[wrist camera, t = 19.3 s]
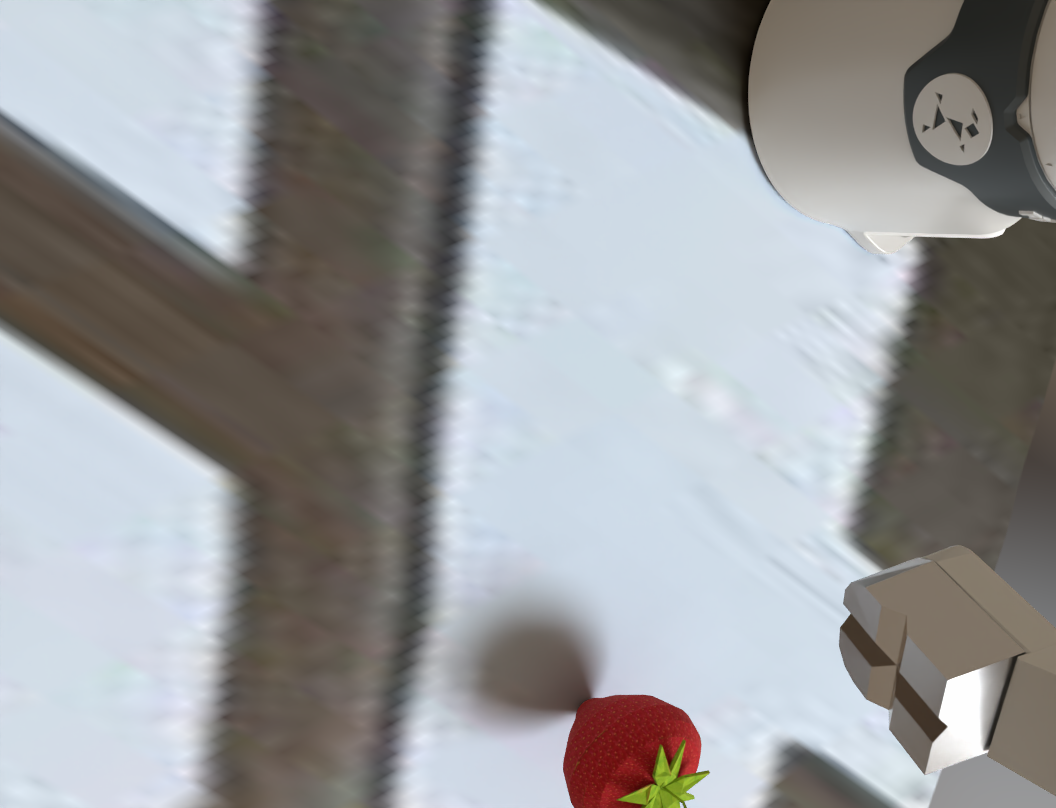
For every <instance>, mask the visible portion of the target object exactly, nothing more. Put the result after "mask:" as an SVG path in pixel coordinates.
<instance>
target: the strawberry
mask: <svg viewBox="0 0 1056 808" xmlns="http://www.w3.org/2000/svg"><path fill="white" fill-rule="evenodd" d="M700 753H701V739H700V736H699V734H698V732H697V730H696V728H695V726H694V725H693V723H692V721H691V719H690V718H689V716H688V715H687V714H686V713H685V712H684V711H683V710H681V709H679V708H677V707H675V706H673V705H671V704H669V703H666V702H664V701H662V700H660V699H658V698H656V697H653V696H648V695H614V696H609V697H605V698H592V699H589V700H586V701H585V702H583V703H582V704H581V705H580V707H579V708H578V710H577V713H576V719H575V721H574V724H573V726H572V728H571V731H570V734H569V737H568V742H567V747H566V752H565V757H564V762H563V772H564V776H565V780H566V784H567V788H568V792H569V796H570V800H571V803H572V805H573V806H574V808H680V803H679V802H681V803H683V806H684V808H687V807H686V805H685V802H684V801H687V800H691V799H694V796H693V795H691V794H689V793H687V792H686V791H688V790H689V789H690V788H691V787H693V786H694V785H695V784H697V783H698V782H699V781H700V780H702V779H703V778H704V777H706V776H707V775H708V774H709V773H710V772H709V771H703V772H698V773H696V771H697V768H698V764H699V759H700Z"/></svg>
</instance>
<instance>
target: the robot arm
mask: <svg viewBox="0 0 1056 808" xmlns="http://www.w3.org/2000/svg"><path fill="white" fill-rule="evenodd" d="M748 105H749V117H750V125H751V131H752V136H753V140H754V144H755V147H756V150H757V154H758V156H759V159H760V162H761V164H762V166H763V168H764V170H765V173H766V174H767V176H768V178H769V180H770V181H771V183H772V184H773V186H774V187H775V189H776V190H777V191H778V193H779V194H780V195H781V196H782V197H783V198H784V200H785V201H786V202H788V203H789V204H790V205H791V206H792V207H793V208H795V209H796V210H797V211H799V212H800V213H802V214H803V215H805V216H807V217H809V218H811V219H813V220H816V221H819V222H823V223H826V224H830V225H834V226H837V227H840V228H842V229H844V230H846V231H847V232H848V233H849V234H850V235H851V236H852V237H853V238H854V239H855V240H856V242H857V243H858V244H859V245H860V246H862V247H863V248H864V249H865V250H866V251H868V252H870V253H872V254H892V253H895V252H896V251H898V250H899V249H900V248H902V247H903V246H904V245H905V244H907V243H908V242H909V241H910V240H911V239H913V238H914V237H915V236H924V237H957V238H991V237H996V236H999V235H1002V234H1003V233H1004V231H1005V229H1006V228H1008V227H1010V226H1011V225H1013V224H1014V223H1016V222H1017V221H1018V220H1020V219H1021V218H1022V217H1023V218H1029V219H1034V220H1037V221H1043V222H1056V0H771V1H770V3H769V5H768V7H767V9H766V12H765V14H764V16H763V19H762V21H761V24H760V27H759V30H758V33H757V36H756V40H755V44H754V48H753V53H752V58H751V64H750V72H749V84H748ZM843 604H844V605H845V606H846V608H847V609H848V610H849V611H850V613H851V614H850V616H849V617H848V618H847V619H846V621H845V622H844V623H843V625H842V626H841V627H840V639H839V647H840V651H841V654H842V658H843V661H844V665H845V667H846V669H847V671H848V673H849V675H850V676H851V678H852V680H853V682H854V683H855V685H856V686H857V688H858V689H859V690H860V692H861V693H862V694H863V696H864V697H865V698H866V699H867V700H869V701H871V702H873V703H875V704H877V705H879V706H881V707H884V708H886V709H888V710H889V730H890V731H891V732H892V734H893V735H894V736H895V737H896V739H897V740H898V741H899V743H900V744H901V745H902V746H903V748H904V749H905V750H906V752H907V753H908V754H909V755H910V757H911V758H912V759H913V761H914V762H915V763H916V764H917V766H918V767H919V768H920V770H921V771H922V772H923V773H924V775H927V774H929V773H932V772H935V771H937V770H940V769H943V768H945V767H948V766H951V765H954V764H956V763H959V762H962V761H964V760H967V759H970V758H972V757H975V756H978V755H980V754H983V753H986V752H988V755H987V756H988V757H989V758H991V759H993V760H995V761H996V762H998V763H1000V764H1001V765H1003V766H1005V767H1007V768H1008V769H1010V770H1012V771H1014V772H1015V773H1017V774H1019V775H1020V776H1022V777H1024V778H1026V779H1027V780H1029V781H1031V782H1032V783H1034V784H1036V785H1038V786H1039V787H1041V788H1043V789H1044V790H1046V791H1048V792H1050V793H1051V794H1053V795H1055V796H1056V628H1055V627H1054V626H1053V625H1052V624H1050V623H1049V622H1048V621H1047V620H1046V619H1045V618H1044V617H1043V616H1042V615H1041V614H1040V613H1039V612H1037V611H1036V610H1035V609H1034V608H1033V607H1032V606H1031V605H1030V604H1029V603H1028V602H1027V601H1026V600H1024V599H1023V598H1022V597H1021V596H1020V595H1019V594H1018V593H1017V592H1016V591H1015V590H1014V589H1012V588H1011V587H1010V586H1009V585H1008V584H1007V583H1006V582H1005V581H1004V580H1003V579H1002V578H1001V577H1000V576H998V575H997V574H996V573H995V572H994V571H993V570H992V569H991V568H990V567H989V566H988V565H987V564H985V563H984V562H983V561H982V560H981V559H980V558H979V557H978V556H977V555H976V554H975V553H974V552H972V551H971V550H970V549H968V548H965V547H963V546H961V545H957V546H951V547H948V548H946V549H943V550H941V551H938V552H935V553H933V554H930V555H927V556H925V557H922V558H915V559H913V560H910V561H907V562H905V563H902V564H899V565H897V566H894V567H891V568H889V569H886V570H883V571H881V572H878V573H875V574H873V575H870V576H867V577H865V578H862V579H859V580H857V581H854V582H851V584H850V585H849V586H848V587H847V588H846V589H845V595H844V602H843Z"/></svg>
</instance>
